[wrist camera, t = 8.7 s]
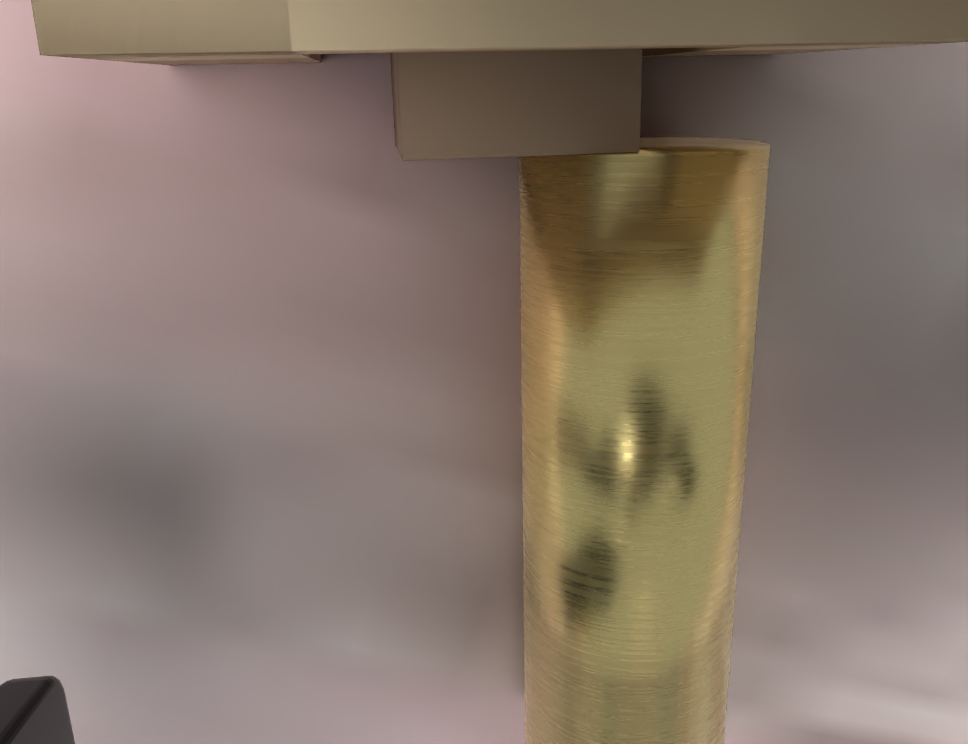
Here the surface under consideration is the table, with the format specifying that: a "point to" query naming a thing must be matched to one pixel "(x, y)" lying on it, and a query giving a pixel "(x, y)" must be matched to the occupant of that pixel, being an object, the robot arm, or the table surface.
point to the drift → (516, 103)
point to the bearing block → (478, 27)
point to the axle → (635, 433)
